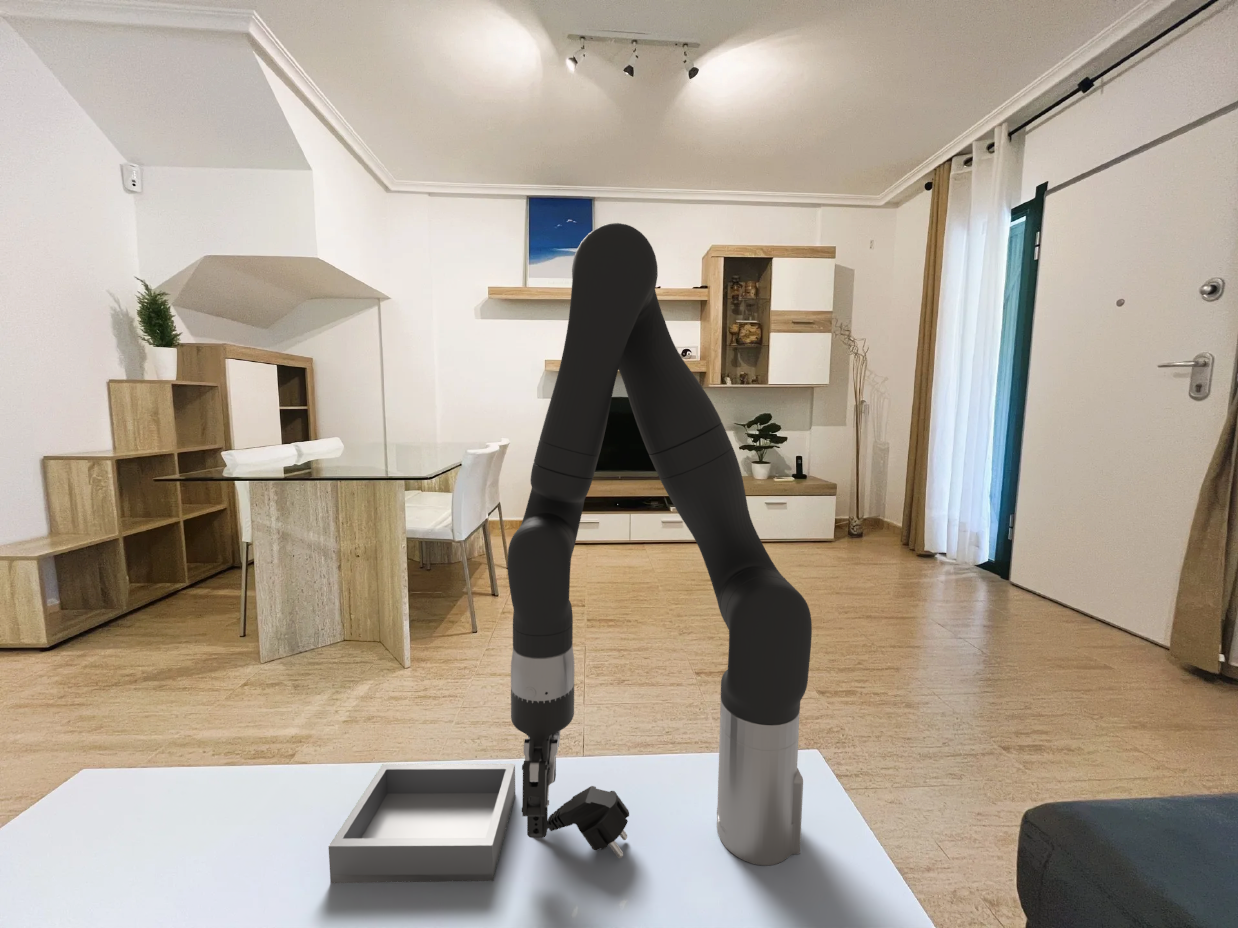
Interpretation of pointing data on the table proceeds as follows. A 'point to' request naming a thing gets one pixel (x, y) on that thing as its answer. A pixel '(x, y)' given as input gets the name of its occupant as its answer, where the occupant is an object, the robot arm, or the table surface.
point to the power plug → (594, 818)
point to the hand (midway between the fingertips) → (542, 805)
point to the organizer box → (426, 825)
